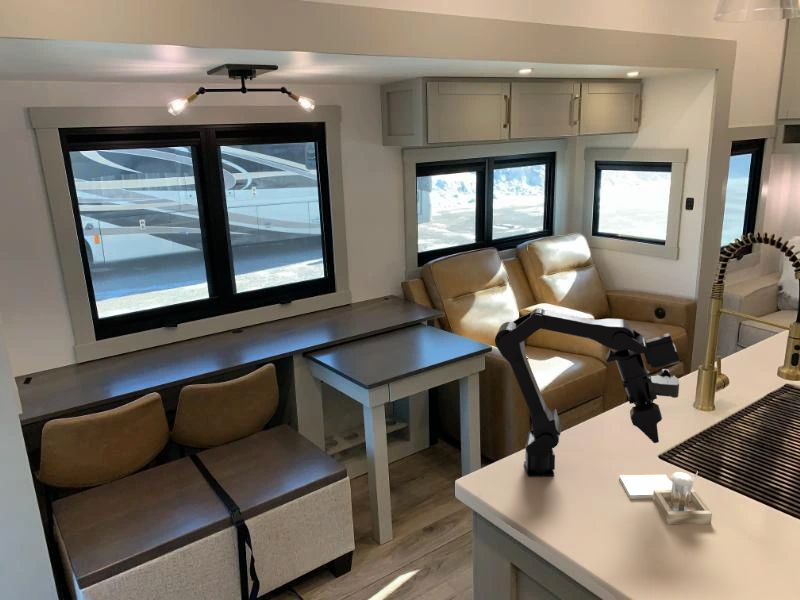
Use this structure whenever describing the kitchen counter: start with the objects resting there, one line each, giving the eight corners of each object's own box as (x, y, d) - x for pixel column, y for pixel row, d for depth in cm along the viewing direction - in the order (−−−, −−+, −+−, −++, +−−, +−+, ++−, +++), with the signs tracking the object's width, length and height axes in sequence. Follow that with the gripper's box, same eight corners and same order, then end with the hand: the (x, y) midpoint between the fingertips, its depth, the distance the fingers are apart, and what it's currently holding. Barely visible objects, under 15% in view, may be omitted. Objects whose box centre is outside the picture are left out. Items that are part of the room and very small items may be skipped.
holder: (668, 524, 131) (669, 514, 130) (652, 499, 139) (653, 490, 139) (710, 523, 130) (712, 513, 130) (692, 498, 139) (693, 489, 138)
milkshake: (696, 518, 132) (700, 478, 129) (670, 516, 133) (673, 476, 130) (691, 506, 136) (695, 466, 134) (665, 504, 137) (669, 465, 135)
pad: (630, 498, 140) (630, 494, 140) (619, 479, 148) (619, 475, 147) (678, 497, 139) (679, 493, 139) (665, 478, 147) (665, 474, 147)
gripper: (675, 380, 128) (697, 445, 130) (666, 349, 145) (686, 407, 147) (621, 392, 132) (643, 455, 134) (618, 361, 149) (638, 417, 151)
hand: (654, 432), depth 142 cm, fingers open, 9 cm apart
